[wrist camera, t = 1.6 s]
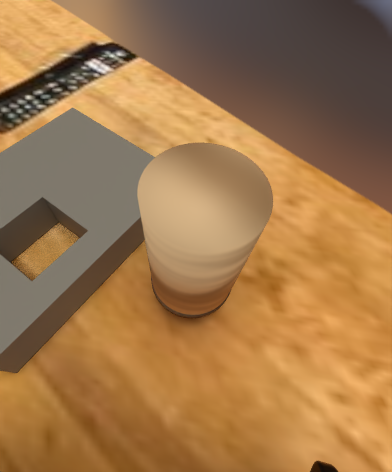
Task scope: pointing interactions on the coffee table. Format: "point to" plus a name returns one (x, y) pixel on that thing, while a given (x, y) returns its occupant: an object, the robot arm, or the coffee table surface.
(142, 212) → the peg
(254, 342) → the coffee table surface
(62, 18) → the coffee table surface
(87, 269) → the board
